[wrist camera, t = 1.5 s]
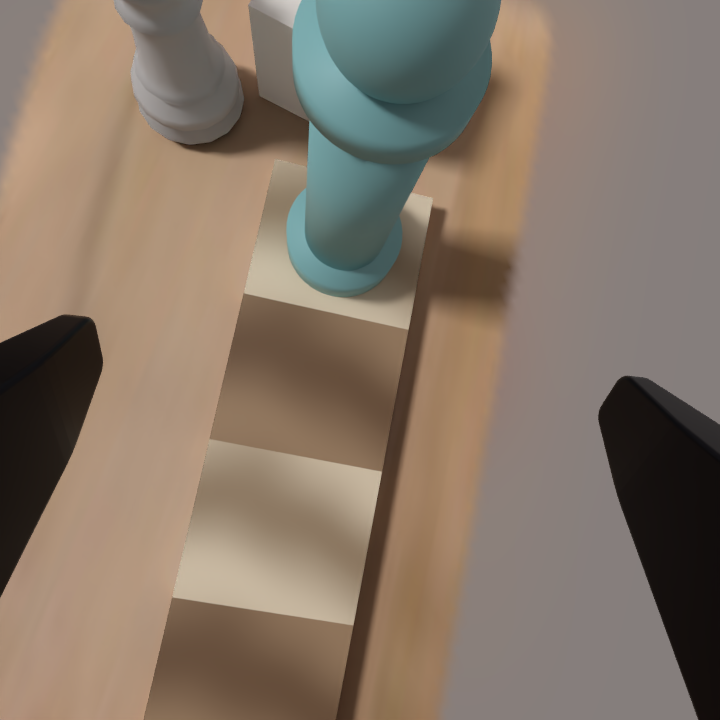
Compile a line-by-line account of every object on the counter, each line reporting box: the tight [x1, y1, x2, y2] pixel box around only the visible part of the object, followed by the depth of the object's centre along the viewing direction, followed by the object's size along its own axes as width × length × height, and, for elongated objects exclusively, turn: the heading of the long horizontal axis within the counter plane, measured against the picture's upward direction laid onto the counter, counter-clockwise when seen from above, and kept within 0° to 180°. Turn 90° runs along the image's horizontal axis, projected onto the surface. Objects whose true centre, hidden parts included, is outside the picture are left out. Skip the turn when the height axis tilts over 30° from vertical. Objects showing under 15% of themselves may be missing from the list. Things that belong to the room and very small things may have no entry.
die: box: [248, 0, 310, 121], centre depth 20 cm, size 5×5×5 cm
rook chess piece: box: [114, 0, 244, 145], centre depth 18 cm, size 4×4×8 cm
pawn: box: [286, 0, 501, 297], centre depth 14 cm, size 5×5×14 cm
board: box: [144, 159, 433, 720], centre depth 20 cm, size 24×7×1 cm, turn 169°
